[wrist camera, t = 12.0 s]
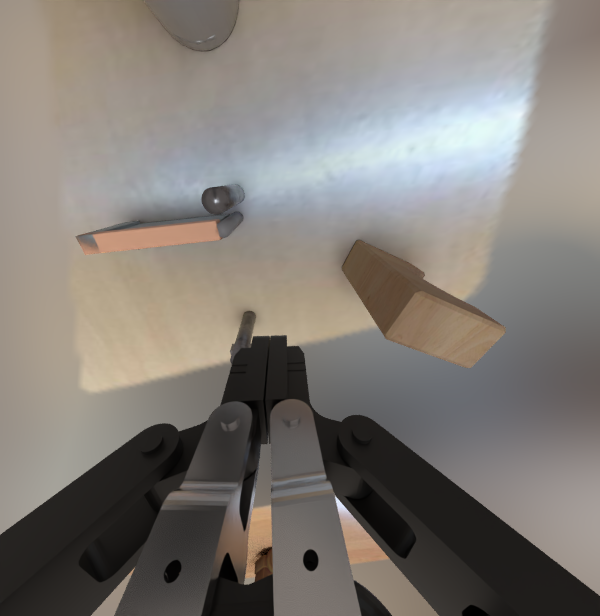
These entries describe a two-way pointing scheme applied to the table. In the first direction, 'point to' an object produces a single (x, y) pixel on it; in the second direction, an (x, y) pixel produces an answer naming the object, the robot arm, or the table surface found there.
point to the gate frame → (217, 203)
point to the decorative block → (418, 308)
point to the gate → (159, 233)
